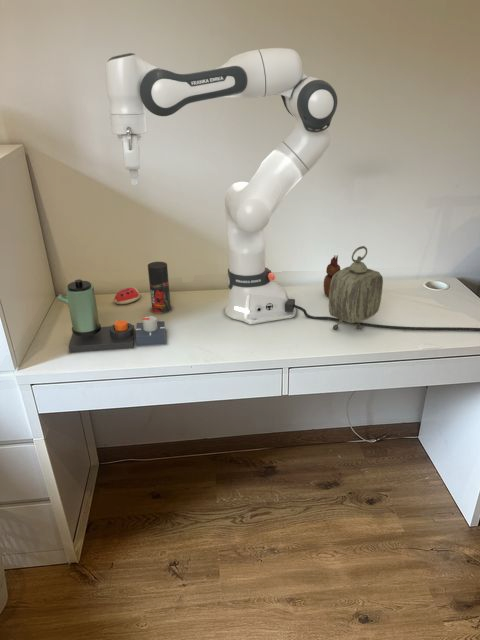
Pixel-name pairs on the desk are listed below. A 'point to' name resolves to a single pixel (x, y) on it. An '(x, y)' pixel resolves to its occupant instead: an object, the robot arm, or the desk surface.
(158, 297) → the deodorant
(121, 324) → the power button
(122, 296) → the ladybug figurine
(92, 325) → the kettle
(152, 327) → the temp dial
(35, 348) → the desk surface
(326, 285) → the wooden figurine
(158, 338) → the control pad
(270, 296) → the robot arm
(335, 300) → the tabletop clock
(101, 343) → the kettle base
